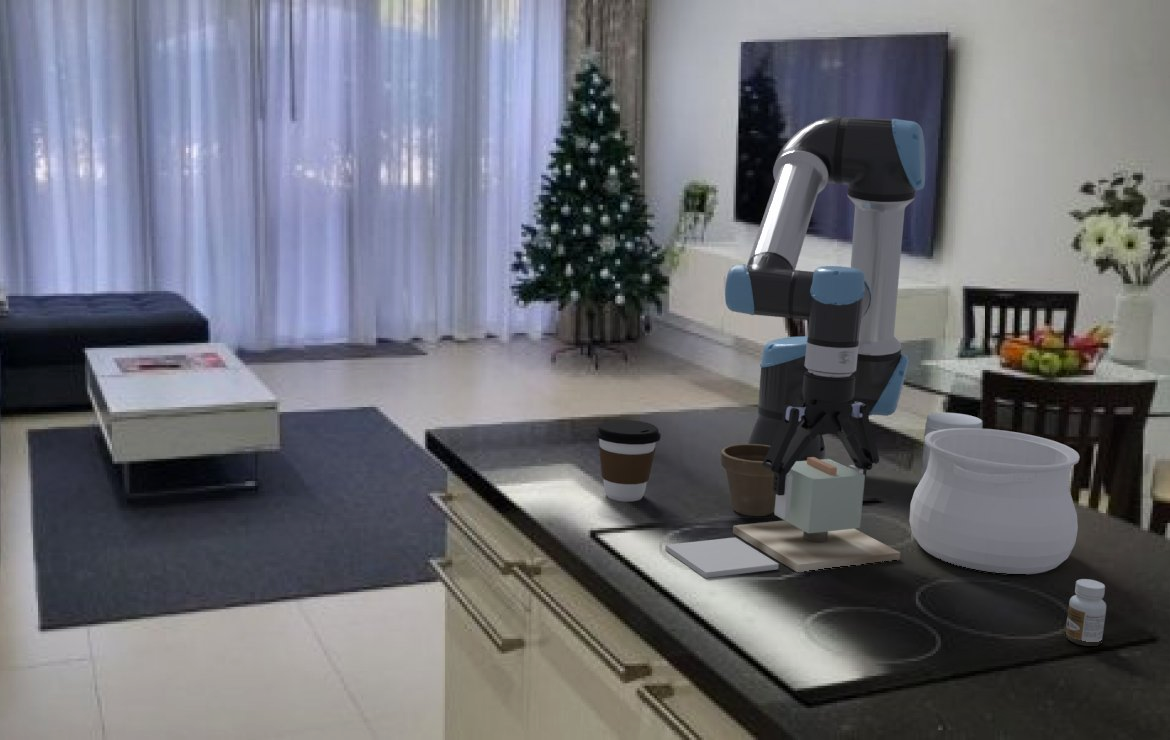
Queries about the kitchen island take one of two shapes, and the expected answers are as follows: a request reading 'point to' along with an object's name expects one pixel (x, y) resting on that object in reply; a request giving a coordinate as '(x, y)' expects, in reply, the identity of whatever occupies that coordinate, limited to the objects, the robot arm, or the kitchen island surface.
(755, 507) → the flower pot
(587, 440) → the kitchen island surface
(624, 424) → the coffee cup
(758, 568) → the pad
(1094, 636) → the pill bottle
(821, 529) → the cube with orange handle
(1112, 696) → the kitchen island surface
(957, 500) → the pot
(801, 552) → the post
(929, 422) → the supplement tub
